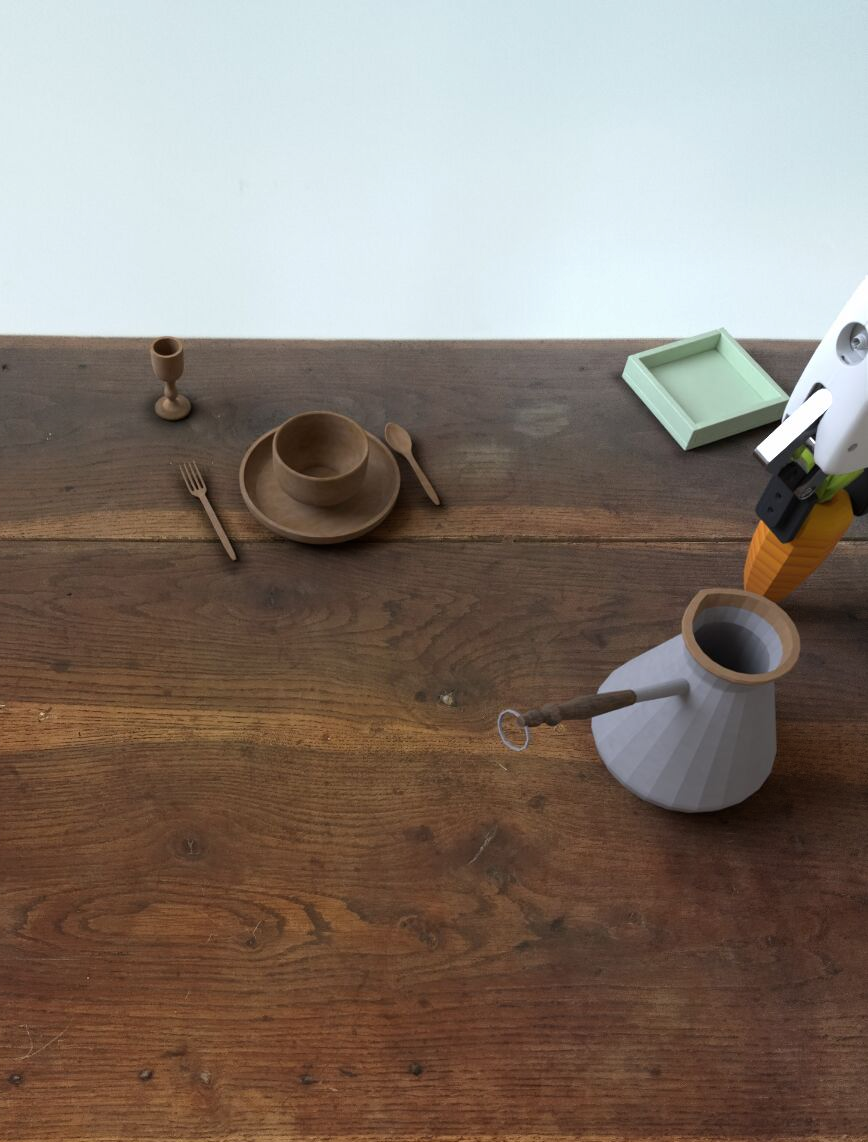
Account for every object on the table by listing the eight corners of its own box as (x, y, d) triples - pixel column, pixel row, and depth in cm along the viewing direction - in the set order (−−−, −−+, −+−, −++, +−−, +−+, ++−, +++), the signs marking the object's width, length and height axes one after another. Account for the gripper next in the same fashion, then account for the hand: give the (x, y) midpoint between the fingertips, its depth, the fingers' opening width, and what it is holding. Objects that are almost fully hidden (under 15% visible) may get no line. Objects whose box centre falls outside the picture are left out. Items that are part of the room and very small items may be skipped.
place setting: (237, 585, 76) (234, 529, 71) (143, 403, 85) (135, 341, 80) (456, 514, 80) (467, 455, 75) (343, 347, 89) (347, 284, 84)
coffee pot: (684, 655, 74) (770, 501, 61) (795, 786, 69) (914, 648, 56) (418, 778, 68) (449, 638, 55) (517, 929, 63) (577, 814, 50)
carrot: (736, 643, 74) (832, 488, 61) (704, 589, 77) (789, 428, 64) (800, 627, 75) (908, 471, 62) (765, 574, 77) (862, 413, 65)
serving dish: (714, 347, 90) (723, 326, 88) (780, 419, 86) (791, 398, 84) (621, 376, 88) (628, 355, 86) (684, 451, 84) (693, 430, 82)
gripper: (879, 345, 48) (732, 598, 64) (1157, 255, 52) (954, 515, 68) (778, 248, 52) (662, 511, 67) (1046, 171, 56) (878, 437, 71)
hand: (810, 511), depth 67 cm, fingers closed on carrot, 4 cm apart
